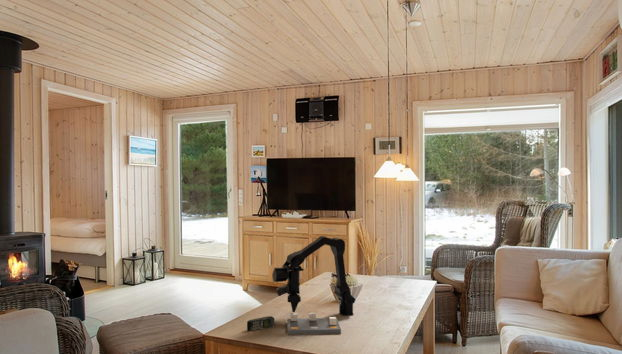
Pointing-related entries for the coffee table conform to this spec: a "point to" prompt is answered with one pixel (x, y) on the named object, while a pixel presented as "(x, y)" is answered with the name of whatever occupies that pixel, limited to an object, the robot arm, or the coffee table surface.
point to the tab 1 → (293, 316)
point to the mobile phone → (260, 323)
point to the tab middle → (312, 316)
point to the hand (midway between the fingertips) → (293, 311)
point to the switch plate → (312, 327)
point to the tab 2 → (332, 320)
